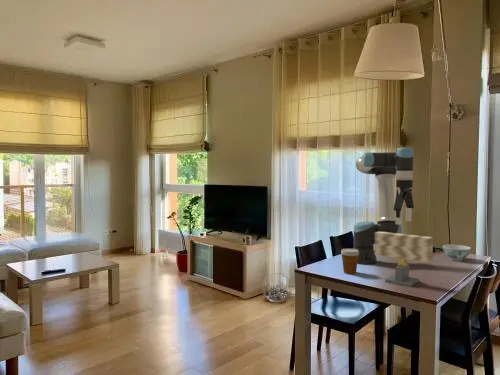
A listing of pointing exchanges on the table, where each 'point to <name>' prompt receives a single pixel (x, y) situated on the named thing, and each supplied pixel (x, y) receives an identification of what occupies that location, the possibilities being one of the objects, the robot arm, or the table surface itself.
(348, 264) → the disposable coffee cup
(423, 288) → the table surface
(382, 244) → the birch beam
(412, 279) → the stand
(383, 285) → the table surface
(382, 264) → the table surface
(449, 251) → the chinaware
